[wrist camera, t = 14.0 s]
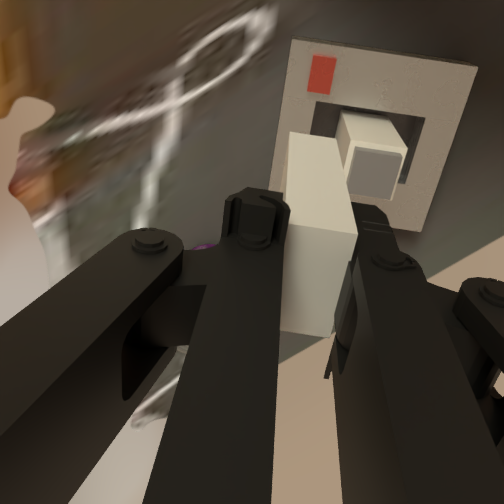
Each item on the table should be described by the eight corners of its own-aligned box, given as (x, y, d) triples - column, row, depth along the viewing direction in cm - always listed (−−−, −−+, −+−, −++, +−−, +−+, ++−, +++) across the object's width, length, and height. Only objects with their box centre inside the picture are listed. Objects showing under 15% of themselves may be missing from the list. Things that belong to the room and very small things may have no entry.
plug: (341, 109, 46) (351, 143, 36) (387, 116, 46) (410, 152, 36) (331, 154, 48) (338, 197, 39) (375, 160, 48) (393, 205, 39)
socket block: (292, 35, 43) (291, 40, 40) (467, 61, 43) (481, 68, 40) (267, 196, 51) (265, 211, 48) (414, 219, 51) (422, 235, 48)
